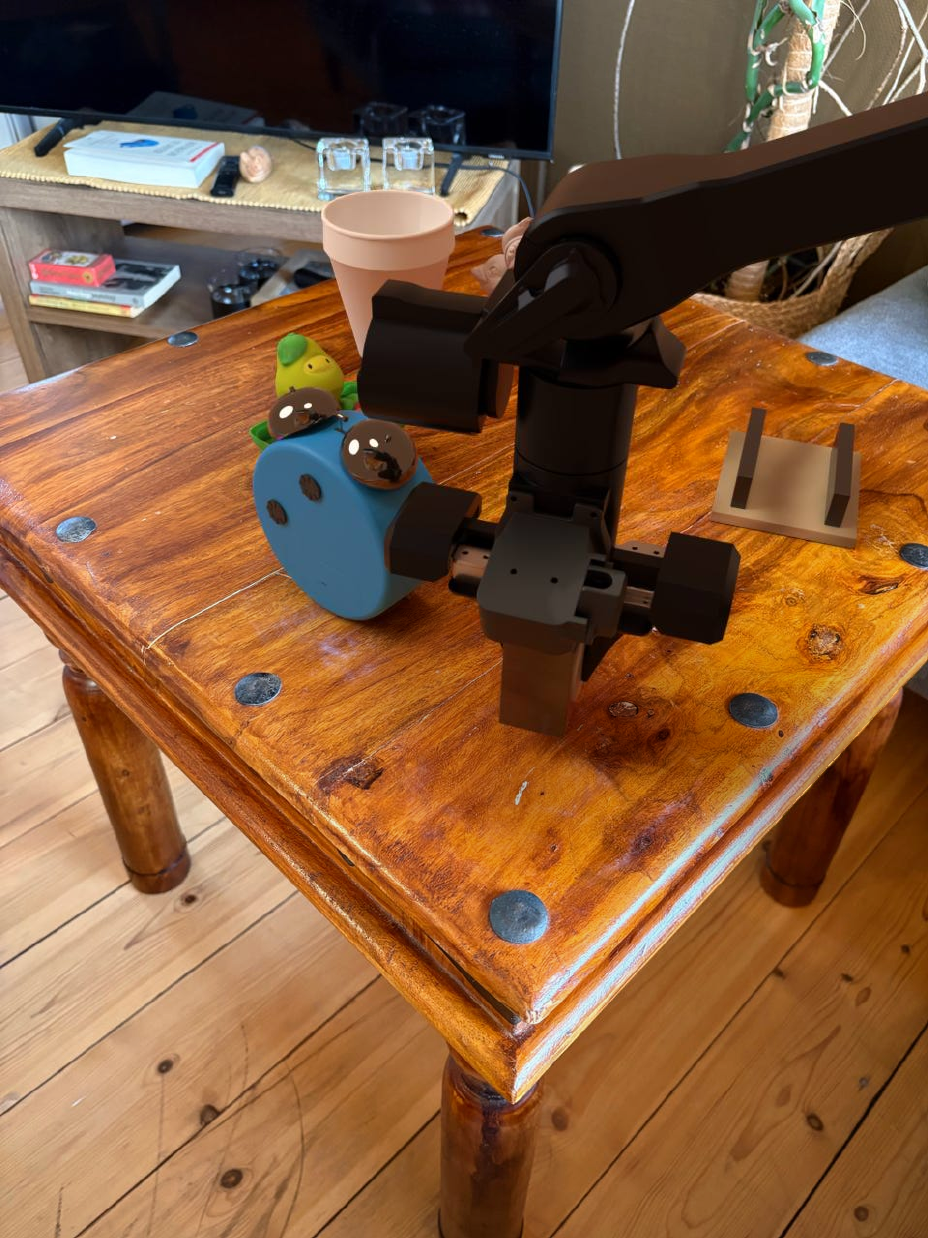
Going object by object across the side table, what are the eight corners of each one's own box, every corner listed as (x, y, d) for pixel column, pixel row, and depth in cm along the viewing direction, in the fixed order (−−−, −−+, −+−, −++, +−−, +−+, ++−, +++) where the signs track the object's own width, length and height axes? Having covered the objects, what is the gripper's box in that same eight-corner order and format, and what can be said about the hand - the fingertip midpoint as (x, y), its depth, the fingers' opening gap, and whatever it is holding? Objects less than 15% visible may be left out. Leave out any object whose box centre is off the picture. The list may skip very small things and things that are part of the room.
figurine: (463, 333, 102) (466, 208, 94) (604, 324, 104) (618, 201, 96) (477, 370, 96) (481, 240, 88) (626, 360, 98) (643, 232, 90)
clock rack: (858, 462, 85) (871, 421, 82) (853, 549, 76) (868, 506, 73) (729, 439, 88) (738, 398, 85) (709, 520, 78) (718, 478, 76)
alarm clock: (450, 612, 70) (452, 424, 60) (389, 657, 66) (380, 466, 56) (322, 537, 76) (304, 356, 66) (260, 575, 72) (231, 390, 62)
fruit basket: (313, 521, 77) (299, 391, 70) (242, 477, 82) (222, 350, 74) (416, 464, 84) (414, 339, 76) (345, 426, 88) (337, 304, 81)
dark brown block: (592, 662, 63) (604, 577, 58) (565, 741, 58) (576, 654, 53) (529, 647, 64) (536, 562, 59) (497, 723, 59) (503, 637, 54)
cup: (306, 360, 97) (292, 218, 88) (375, 313, 105) (369, 179, 96) (412, 392, 93) (409, 246, 84) (476, 341, 101) (479, 203, 92)
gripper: (333, 495, 46) (352, 724, 56) (743, 581, 41) (682, 811, 52) (417, 384, 54) (420, 603, 64) (768, 447, 49) (711, 670, 60)
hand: (548, 668), depth 60 cm, fingers closed on dark brown block, 4 cm apart
